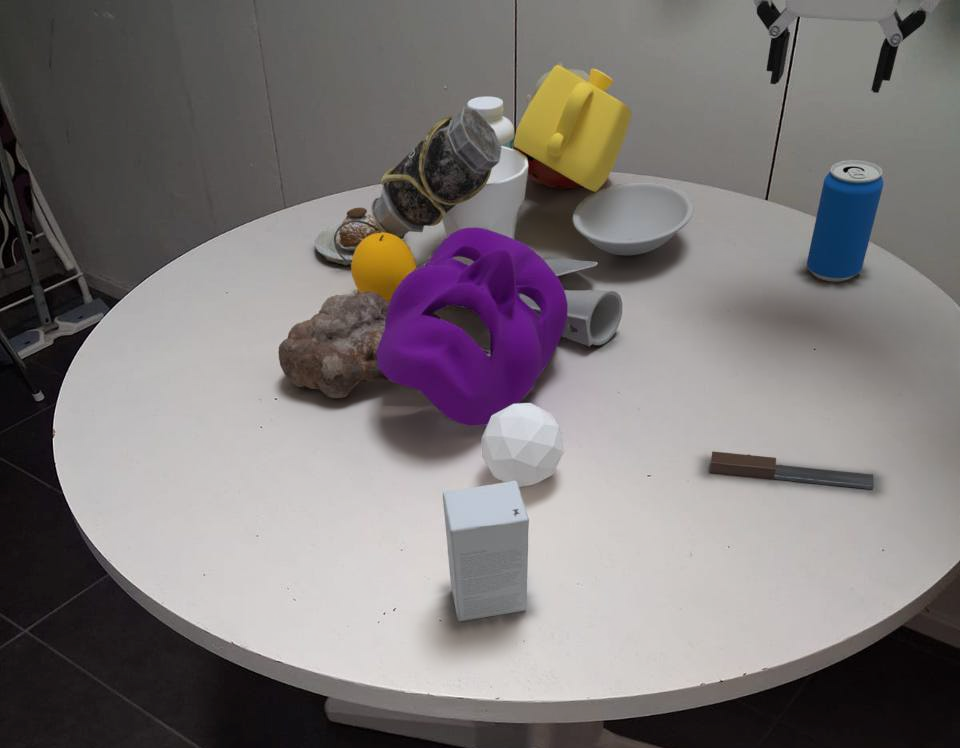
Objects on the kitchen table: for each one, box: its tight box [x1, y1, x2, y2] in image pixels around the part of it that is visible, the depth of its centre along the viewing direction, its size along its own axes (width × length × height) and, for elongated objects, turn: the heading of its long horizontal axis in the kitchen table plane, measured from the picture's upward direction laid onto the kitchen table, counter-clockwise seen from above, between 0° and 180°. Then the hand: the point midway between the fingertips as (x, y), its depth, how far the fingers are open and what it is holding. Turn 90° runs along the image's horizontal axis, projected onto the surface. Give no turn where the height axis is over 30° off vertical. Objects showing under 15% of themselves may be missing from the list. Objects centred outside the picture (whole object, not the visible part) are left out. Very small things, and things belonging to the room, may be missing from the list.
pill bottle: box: [466, 96, 515, 150], centre depth 127 cm, size 8×7×14 cm
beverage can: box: [806, 159, 884, 283], centre depth 111 cm, size 6×6×12 cm
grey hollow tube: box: [518, 289, 623, 347], centre depth 111 cm, size 6×6×19 cm
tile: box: [543, 258, 598, 277], centre depth 114 cm, size 20×11×1 cm, turn 124°
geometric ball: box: [481, 402, 565, 488], centre depth 89 cm, size 8×8×8 cm
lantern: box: [334, 106, 502, 265], centre depth 114 cm, size 9×8×25 cm
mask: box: [377, 228, 568, 427], centre depth 94 cm, size 17×15×25 cm
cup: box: [441, 146, 528, 266], centre depth 119 cm, size 12×12×11 cm
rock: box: [277, 291, 442, 399], centre depth 104 cm, size 18×12×10 cm, turn 109°
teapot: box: [514, 64, 632, 193], centre depth 119 cm, size 20×12×12 cm
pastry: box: [314, 207, 405, 266], centre depth 125 cm, size 12×12×5 cm
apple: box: [350, 233, 417, 303], centre depth 115 cm, size 8×8×8 cm
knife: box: [709, 450, 875, 490], centre depth 90 cm, size 15×2×1 cm, turn 76°
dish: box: [572, 181, 694, 256], centre depth 120 cm, size 18×14×5 cm
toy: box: [514, 61, 590, 190], centre depth 132 cm, size 15×15×15 cm
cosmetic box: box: [442, 481, 530, 622], centre depth 76 cm, size 6×4×12 cm
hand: (825, 83), depth 94 cm, fingers open, 9 cm apart
